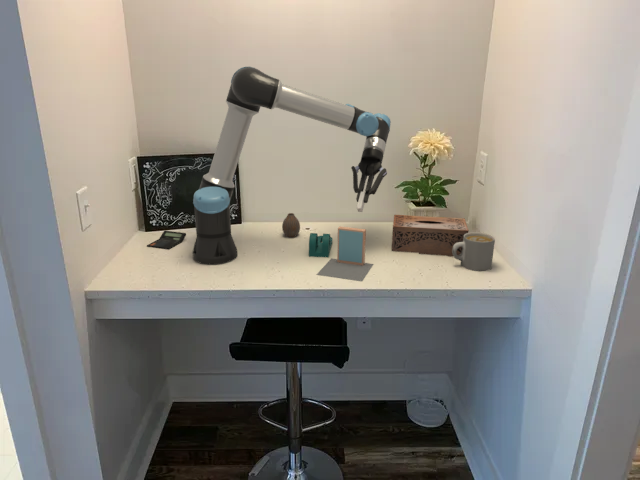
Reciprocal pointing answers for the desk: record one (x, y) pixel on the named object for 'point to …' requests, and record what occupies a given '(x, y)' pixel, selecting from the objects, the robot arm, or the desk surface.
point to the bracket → (319, 245)
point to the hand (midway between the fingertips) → (359, 210)
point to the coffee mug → (475, 251)
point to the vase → (291, 225)
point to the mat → (345, 270)
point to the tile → (351, 245)
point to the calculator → (168, 240)
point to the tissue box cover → (427, 234)
